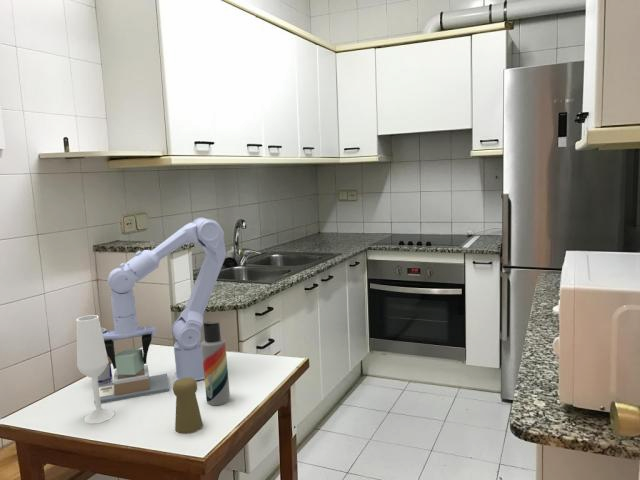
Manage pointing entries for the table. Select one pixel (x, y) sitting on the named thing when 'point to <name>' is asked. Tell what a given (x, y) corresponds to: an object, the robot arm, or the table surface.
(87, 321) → the champagne flute
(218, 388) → the lotion bottle
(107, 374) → the beverage can
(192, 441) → the table surface
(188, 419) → the cork
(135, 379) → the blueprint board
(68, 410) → the table surface
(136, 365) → the sage block
